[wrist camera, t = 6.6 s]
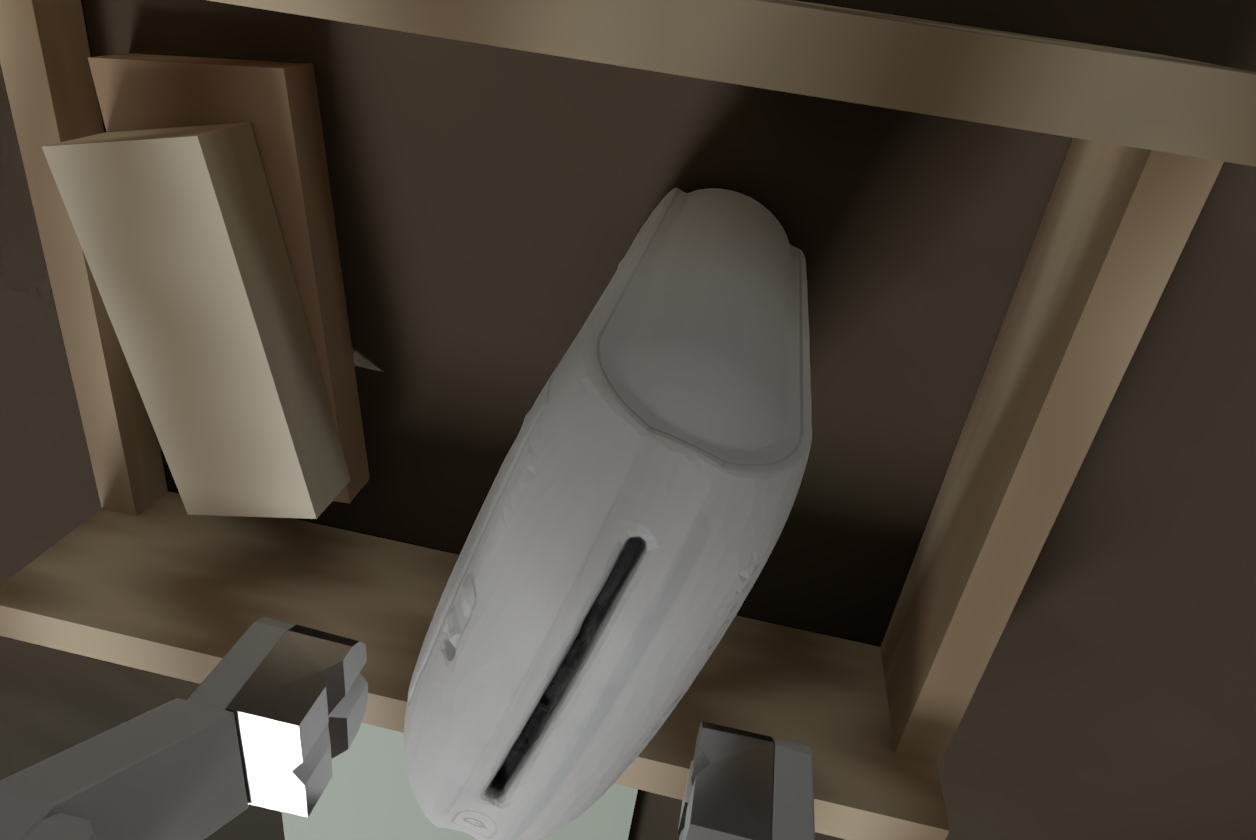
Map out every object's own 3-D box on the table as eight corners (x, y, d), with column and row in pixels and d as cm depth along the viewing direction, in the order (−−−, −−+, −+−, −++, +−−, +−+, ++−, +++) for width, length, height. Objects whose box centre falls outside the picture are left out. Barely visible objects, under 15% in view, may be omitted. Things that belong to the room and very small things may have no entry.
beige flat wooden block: (326, 61, 21) (283, 68, 19) (378, 468, 26) (349, 503, 24) (144, 51, 21) (87, 57, 19) (234, 451, 27) (196, 483, 25)
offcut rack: (1167, 55, 17) (1336, 87, 12) (908, 683, 26) (938, 861, 20) (14, -116, 19) (-276, -154, 14) (140, 512, 28) (-9, 633, 23)
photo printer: (653, 534, 25) (547, 957, 14) (524, 473, 25) (317, 854, 14) (831, 233, 20) (880, 532, 9) (671, 153, 19) (524, 360, 9)
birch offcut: (250, 121, 19) (197, 136, 18) (350, 480, 24) (316, 518, 22) (105, 132, 20) (41, 146, 18) (229, 477, 25) (188, 514, 23)
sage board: (661, 672, 27) (658, 690, 27) (612, 913, 34) (608, 933, 33) (268, 583, 29) (255, 598, 28) (296, 832, 35) (286, 849, 35)
